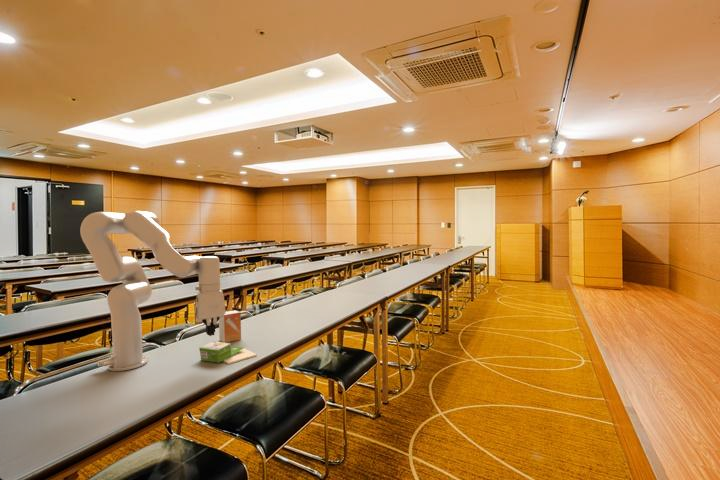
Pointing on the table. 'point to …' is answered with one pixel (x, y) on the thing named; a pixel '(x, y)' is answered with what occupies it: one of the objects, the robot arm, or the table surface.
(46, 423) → the table surface
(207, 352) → the ink box
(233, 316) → the small box
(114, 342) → the robot arm
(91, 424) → the table surface
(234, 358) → the mat
